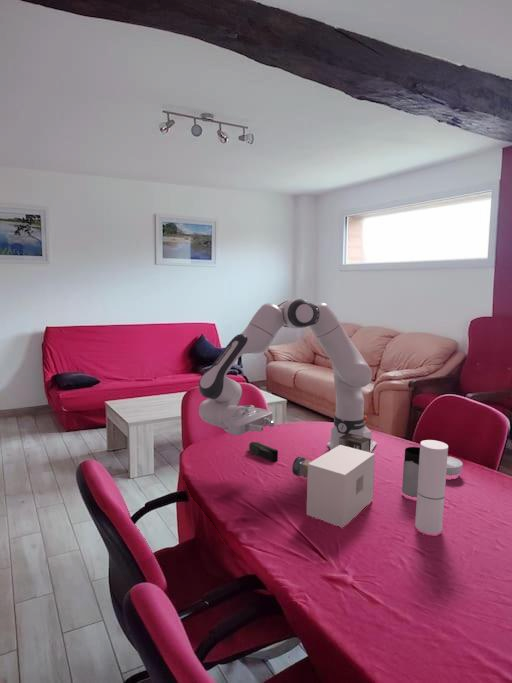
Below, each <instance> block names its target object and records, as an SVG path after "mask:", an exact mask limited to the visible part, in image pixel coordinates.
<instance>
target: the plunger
mask: <svg viewBox="0 0 512 683" xmlns="http://www.w3.org/2000/svg"><path fill="white" fill-rule="evenodd" d="M312 461H313V460H308V459H306V458H305V457H303V456H296V458H294V461H293V462H292V467H291V470H292V471H291V472H292V473H293V475H294V476H297V477H303V478H307V479H308V464H309V463H310V462H312Z"/></svg>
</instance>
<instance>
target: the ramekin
mask: <svg viewBox="0 0 512 683" xmlns="http://www.w3.org/2000/svg"><path fill="white" fill-rule="evenodd" d="M463 464H464V463H463V461H461V460H460V459H458V458H456V457H453V456H447V470H446V475H449V476H450V475H451V476H452V475H457V474H459V473H460V474H462V473H461V472H462V468H463V466H464V465H463Z"/></svg>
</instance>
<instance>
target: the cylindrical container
mask: <svg viewBox="0 0 512 683" xmlns="http://www.w3.org/2000/svg"><path fill="white" fill-rule="evenodd" d="M419 448H420V457H419V473H418V489H417V501H416V508H415V521H414V522H415V523H414V527H415V526H416V527H417V528H418V529H419V530H420V531H423V532H425V533H430V534H436V533H439V532H441V531H442V532H443V524H444V523H443V521H444V509H445V507H444V506H445V495H446V485H447V484H446V483H447V480H446V470H447V456H448V455H449V454H448V453H449V445H448V444H447V443H445V442H443V441H439V440H435V439H426V440H425V439H424V440H421V441H420V444H419Z"/></svg>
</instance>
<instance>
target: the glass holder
mask: <svg viewBox="0 0 512 683" xmlns="http://www.w3.org/2000/svg"><path fill="white" fill-rule="evenodd" d="M419 457H420V446H419V447H418V446H408V447H406V448H405V449H404V461H403V468H402V486H401V490H402V492H403V493H404V494H406V495H408V496H411V497H417V489H418V473H419Z"/></svg>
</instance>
